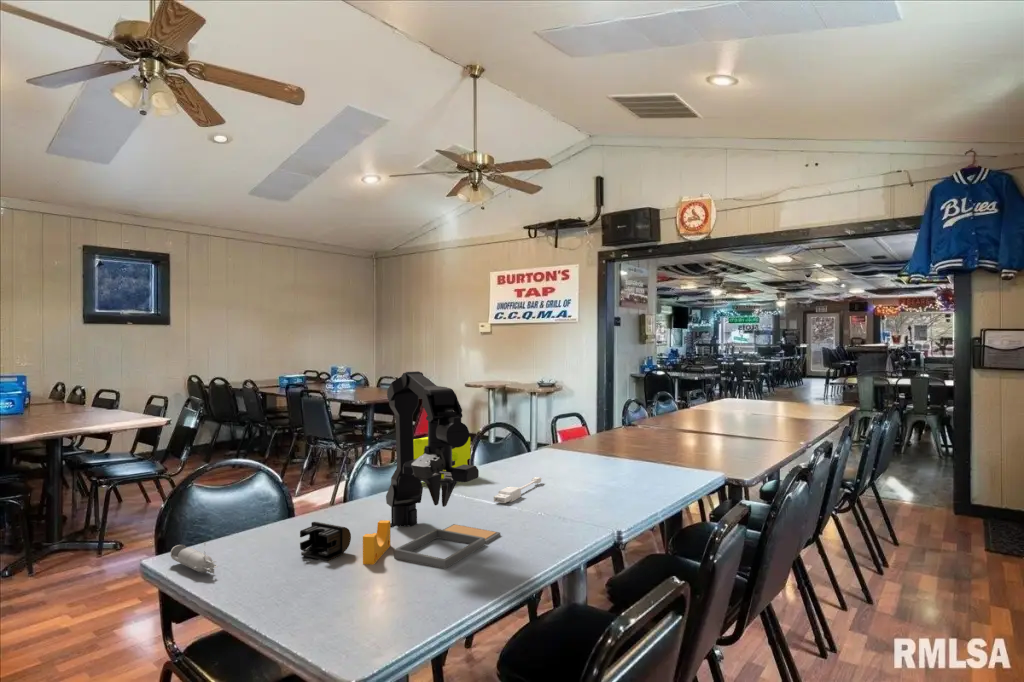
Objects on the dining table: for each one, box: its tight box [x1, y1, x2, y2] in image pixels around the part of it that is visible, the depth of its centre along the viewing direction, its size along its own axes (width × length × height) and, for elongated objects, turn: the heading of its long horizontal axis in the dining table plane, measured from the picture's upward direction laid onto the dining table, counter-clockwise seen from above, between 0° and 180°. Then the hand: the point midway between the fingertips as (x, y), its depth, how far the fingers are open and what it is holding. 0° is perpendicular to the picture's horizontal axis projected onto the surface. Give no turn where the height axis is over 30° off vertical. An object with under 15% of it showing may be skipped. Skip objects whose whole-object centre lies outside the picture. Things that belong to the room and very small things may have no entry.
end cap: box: [299, 521, 352, 562], centre depth 138 cm, size 10×7×7 cm
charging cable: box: [493, 476, 543, 504], centre depth 192 cm, size 5×31×3 cm, turn 153°
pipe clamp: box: [362, 519, 391, 565], centre depth 137 cm, size 12×4×6 cm, turn 174°
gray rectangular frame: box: [393, 528, 486, 570], centre depth 138 cm, size 15×17×2 cm
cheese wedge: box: [413, 436, 472, 479], centre depth 216 cm, size 19×20×15 cm
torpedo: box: [170, 542, 219, 575], centre depth 130 cm, size 18×5×7 cm, turn 54°
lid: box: [442, 523, 501, 545], centre depth 149 cm, size 15×7×1 cm, turn 61°
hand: (440, 505), depth 138 cm, fingers closed
